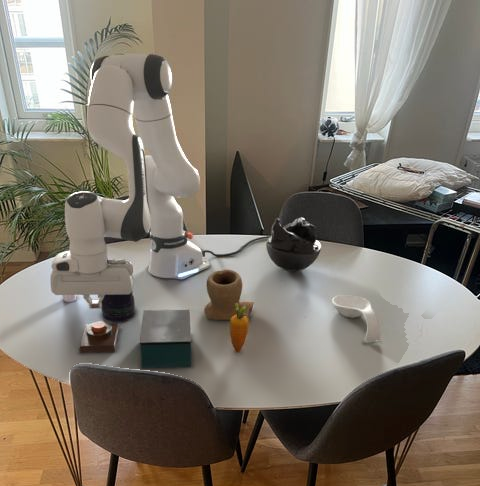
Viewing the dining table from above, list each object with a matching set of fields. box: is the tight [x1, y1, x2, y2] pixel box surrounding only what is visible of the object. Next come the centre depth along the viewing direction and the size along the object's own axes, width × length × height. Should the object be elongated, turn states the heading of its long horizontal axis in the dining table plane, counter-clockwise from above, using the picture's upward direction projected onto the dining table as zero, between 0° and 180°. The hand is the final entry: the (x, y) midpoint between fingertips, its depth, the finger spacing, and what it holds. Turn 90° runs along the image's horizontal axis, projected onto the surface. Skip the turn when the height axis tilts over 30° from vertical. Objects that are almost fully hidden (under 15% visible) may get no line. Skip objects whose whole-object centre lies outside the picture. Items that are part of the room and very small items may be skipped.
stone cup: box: [203, 269, 255, 321], centre depth 140 cm, size 15×12×15 cm
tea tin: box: [139, 343, 192, 369], centre depth 125 cm, size 15×13×8 cm
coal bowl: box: [265, 216, 322, 272], centre depth 171 cm, size 20×20×19 cm
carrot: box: [229, 303, 250, 354], centre depth 124 cm, size 5×5×15 cm
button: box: [91, 320, 106, 333], centre depth 127 cm, size 4×4×2 cm
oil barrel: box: [100, 276, 136, 323], centre depth 138 cm, size 10×10×15 cm
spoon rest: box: [331, 294, 382, 344], centre depth 143 cm, size 24×12×7 cm, turn 12°
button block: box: [78, 322, 120, 354], centre depth 128 cm, size 11×9×4 cm
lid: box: [139, 309, 192, 346], centre depth 122 cm, size 15×13×1 cm
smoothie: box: [61, 295, 77, 303], centre depth 144 cm, size 6×6×14 cm
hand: (95, 307), depth 124 cm, fingers closed
